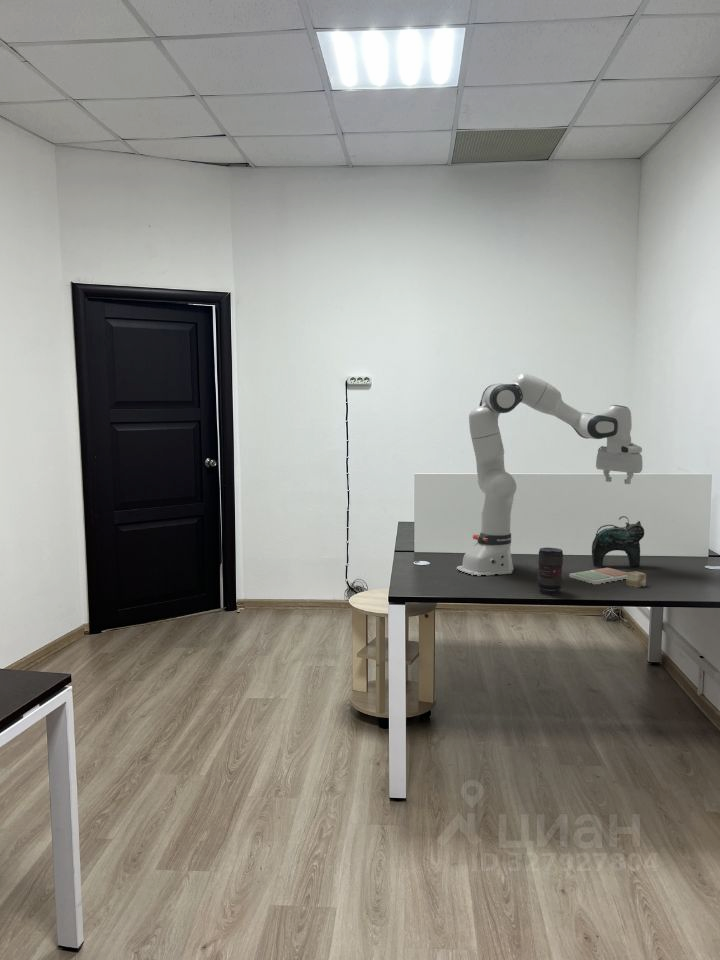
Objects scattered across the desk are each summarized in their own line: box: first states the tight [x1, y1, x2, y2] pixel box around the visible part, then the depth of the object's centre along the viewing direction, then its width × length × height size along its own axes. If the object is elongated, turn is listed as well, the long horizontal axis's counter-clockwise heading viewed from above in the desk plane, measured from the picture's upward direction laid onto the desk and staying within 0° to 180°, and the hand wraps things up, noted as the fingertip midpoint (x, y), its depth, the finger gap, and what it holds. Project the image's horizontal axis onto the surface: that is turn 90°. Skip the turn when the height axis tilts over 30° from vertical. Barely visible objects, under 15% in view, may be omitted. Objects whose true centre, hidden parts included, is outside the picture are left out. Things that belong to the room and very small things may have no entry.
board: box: [568, 567, 628, 586], centre depth 270 cm, size 20×13×2 cm, turn 118°
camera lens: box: [537, 547, 564, 595], centre depth 249 cm, size 8×8×15 cm
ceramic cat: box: [591, 515, 645, 567], centre depth 287 cm, size 20×6×20 cm, turn 89°
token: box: [626, 570, 647, 588], centre depth 258 cm, size 4×4×4 cm
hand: (617, 482), depth 282 cm, fingers open, 8 cm apart
